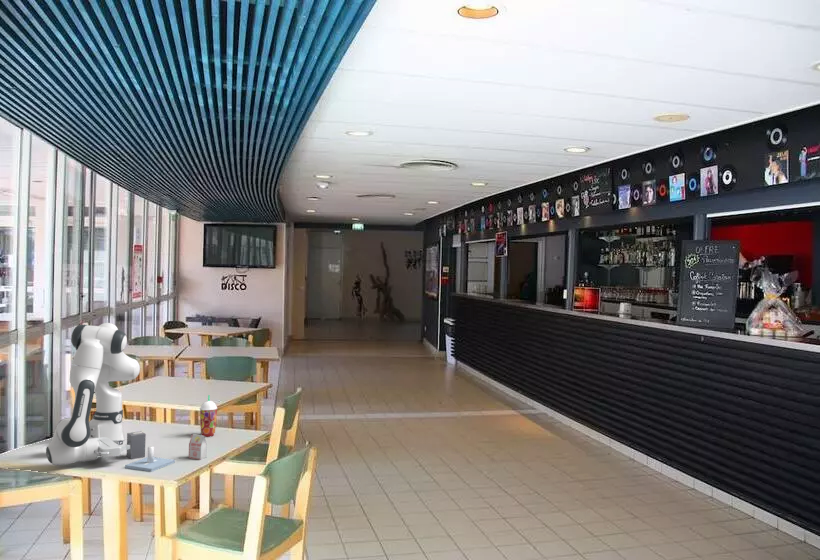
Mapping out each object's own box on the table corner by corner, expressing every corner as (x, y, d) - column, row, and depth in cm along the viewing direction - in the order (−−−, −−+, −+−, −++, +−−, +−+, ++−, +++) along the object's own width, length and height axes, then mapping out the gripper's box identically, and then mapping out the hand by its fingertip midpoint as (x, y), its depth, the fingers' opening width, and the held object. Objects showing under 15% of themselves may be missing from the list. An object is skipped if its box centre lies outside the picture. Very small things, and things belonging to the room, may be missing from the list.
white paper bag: (194, 455, 278) (195, 433, 278) (206, 457, 275) (207, 434, 275) (188, 457, 274) (189, 434, 274) (200, 459, 272) (201, 436, 272)
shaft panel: (125, 468, 257) (125, 449, 257) (149, 459, 270) (149, 441, 270) (151, 471, 253) (152, 453, 253) (174, 462, 266) (175, 444, 266)
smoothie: (209, 432, 320) (210, 393, 320) (220, 435, 315) (221, 395, 315) (195, 435, 313) (196, 395, 313) (205, 438, 308) (207, 397, 308)
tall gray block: (131, 459, 270) (131, 435, 270) (126, 456, 274) (127, 432, 274) (144, 457, 274) (145, 433, 274) (140, 454, 278) (140, 430, 278)
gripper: (98, 447, 254) (134, 442, 263) (84, 436, 269) (118, 432, 279) (98, 462, 254) (133, 457, 263) (84, 451, 269) (118, 446, 279)
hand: (125, 444), depth 271 cm, fingers open, 8 cm apart
